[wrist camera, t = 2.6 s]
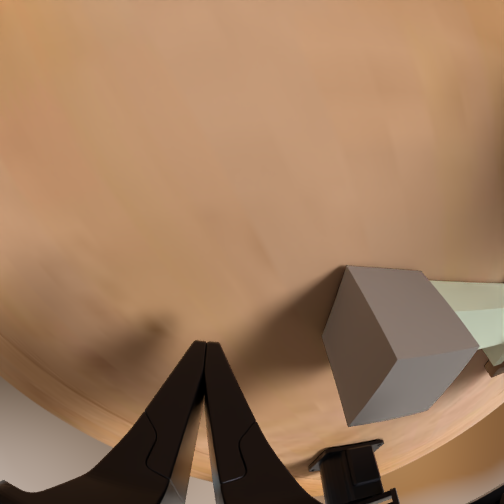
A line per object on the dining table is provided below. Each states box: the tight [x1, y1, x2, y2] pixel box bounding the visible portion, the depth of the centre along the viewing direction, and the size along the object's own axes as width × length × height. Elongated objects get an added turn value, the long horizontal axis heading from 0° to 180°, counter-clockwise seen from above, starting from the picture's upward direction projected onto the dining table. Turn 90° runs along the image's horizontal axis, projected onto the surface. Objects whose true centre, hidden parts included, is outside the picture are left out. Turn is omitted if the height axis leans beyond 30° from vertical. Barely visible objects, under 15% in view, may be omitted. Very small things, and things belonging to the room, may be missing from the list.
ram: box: [322, 265, 504, 427], centre depth 11 cm, size 8×15×5 cm, turn 83°
